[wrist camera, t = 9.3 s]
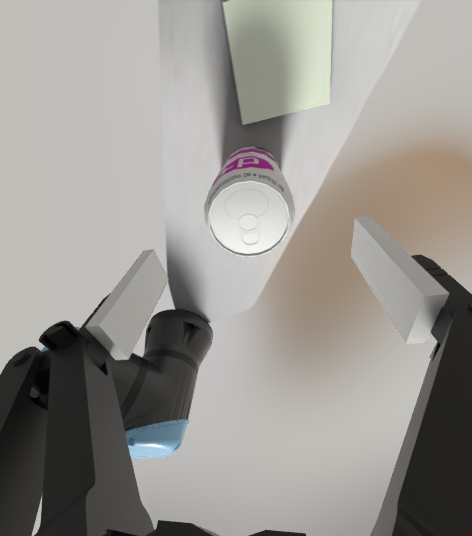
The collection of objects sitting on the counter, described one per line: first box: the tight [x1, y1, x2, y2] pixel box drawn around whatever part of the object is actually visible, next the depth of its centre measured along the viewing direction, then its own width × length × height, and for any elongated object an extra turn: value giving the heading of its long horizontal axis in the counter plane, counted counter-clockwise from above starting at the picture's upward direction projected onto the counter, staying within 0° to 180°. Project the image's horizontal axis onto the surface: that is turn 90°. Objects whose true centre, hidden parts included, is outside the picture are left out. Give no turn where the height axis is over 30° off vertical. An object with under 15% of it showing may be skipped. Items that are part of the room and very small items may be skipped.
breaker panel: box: [220, 0, 332, 125], centre depth 21 cm, size 10×14×4 cm
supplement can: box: [204, 146, 295, 257], centre depth 25 cm, size 8×8×15 cm
